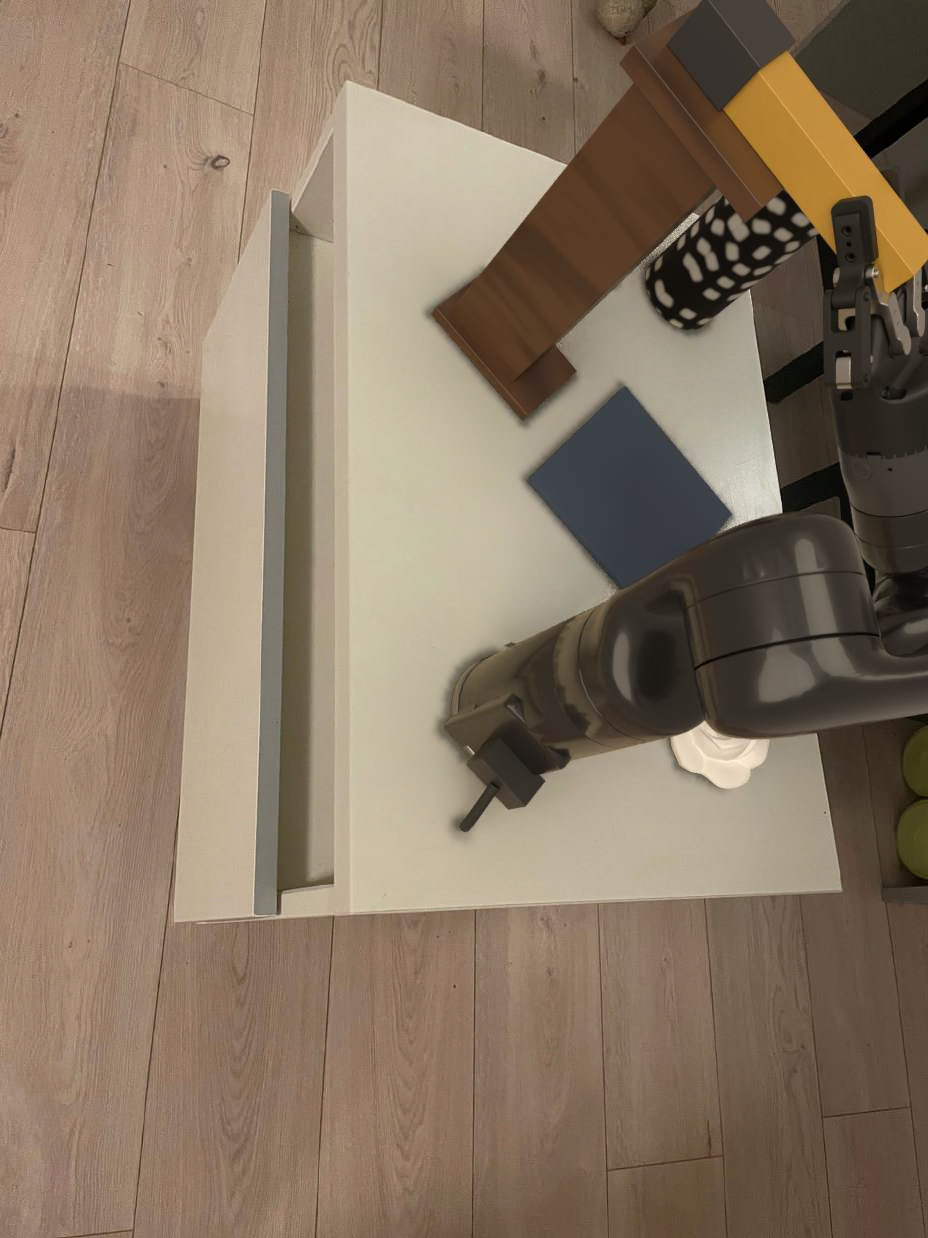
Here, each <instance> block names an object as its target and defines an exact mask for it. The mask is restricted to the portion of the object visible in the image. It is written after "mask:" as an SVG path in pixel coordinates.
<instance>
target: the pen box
mask: <svg viewBox="0 0 928 1238" xmlns="http://www.w3.org/2000/svg"><path fill="white" fill-rule="evenodd" d="M696 6H697V7H696ZM696 6H695V7H696V8H695V7H694V8H695V9H694V10H693V12H692V13H691V14H690V15H689V17H688V18H687V19H686V20H685V22H684V23H683V24H682V25H681V27H680V28H679V29H678V30H677V32H676V33H675V34H674V35H673V37H672V38H671V39H670V40H669V42H668V43H667V46H668V47H669V48H670V50H671V51H672V52H673V53H674V55H675V56H676V57H677V59H678V60H679V61H680V62H681V64H682V65H683V66H684V68H685V69H686V70H687V71H688V73H689V74H690V75H691V77H692V78H693V79H694V80H695V82H696V83H697V84H698V86H699V87H700V88H701V89H702V91H703V92H704V93H705V94H706V96H707V97H708V98H709V100H710V101H711V102H712V103H713V105H714V106H715V107H716V109H717V110H718V111H721V110H722V109H723V110H724V111H725V113H726V114H727V115H728V116H729V118H730V119H731V120H732V122H733V123H734V124H735V125H736V127H737V128H738V129H739V130H740V132H741V133H742V134H743V136H744V137H745V138H746V139H747V141H748V142H749V143H750V145H751V146H752V147H753V148H754V150H755V151H756V152H757V154H758V155H759V156H760V157H761V159H762V160H763V161H764V163H765V164H766V165H767V166H768V168H769V169H770V170H771V172H772V173H773V174H774V175H775V177H776V178H777V179H778V181H779V182H780V183H781V184H782V186H783V187H784V188H785V190H786V191H787V192H788V193H789V195H790V196H791V197H792V198H793V200H794V201H795V202H796V204H797V205H798V206H799V207H800V209H801V210H802V211H803V213H804V214H805V215H806V216H807V218H808V219H809V220H810V222H811V223H812V224H813V225H814V227H815V228H816V229H817V231H818V232H819V235H820V236H821V237H822V239H823V240H824V241H825V243H826V244H827V245H828V246H829V247H830V249H831V250H832V251H833V252H834V255H836V256H837V254H836V246H835V239H834V232H833V224H832V217H831V209H832V207H833V206H834V205H835V204H836V203H837V202H838V201H839V200H841V199H845V198H851V197H857V196H863V195H866V196H869V197H870V198H871V199H872V201H873V208H874V217H875V226H876V235H877V244H878V253H879V257H878V258H877V259H876V260H875V261H873V262H872V264H875V263H878V264H879V265H880V269H881V273H882V277H883V281H884V289H885V291H886V292H888V293H889V292H891V291H892V290H894V289H895V288H897V287H898V286H900V285H901V284H903V283H904V282H906V281H907V280H909V279H910V278H912V277H913V276H915V275H916V273H917V272H918V271H919V270H920V268H921V267H922V266H923V265H924V263H925V262H926V261H927V260H928V233H927V232H926V230H925V229H924V230H925V231H924V230H923V228H922V227H921V226H920V224H921V223H920V222H918V220H917V219H916V217H914V215H913V214H912V212H911V211H910V210H909V208H908V207H907V206H906V204H905V205H904V203H903V202H902V201H901V199H900V198H899V197H898V195H897V194H896V193H895V192H894V190H893V189H892V188H891V186H890V185H889V184H888V182H887V181H886V180H885V178H884V177H883V176H882V174H881V173H880V172H879V171H878V169H877V168H878V167H877V166H876V165H875V164H874V163H873V161H872V160H871V159H870V157H869V156H868V155H867V153H866V152H865V150H863V148H862V147H861V146H860V144H859V143H858V142H857V140H856V139H855V138H854V137H853V135H852V134H851V132H850V131H849V129H848V128H847V127H846V126H845V124H844V123H843V122H842V121H841V119H840V117H838V115H837V114H836V113H835V111H834V110H833V109H832V107H831V106H830V105H829V104H828V102H827V101H826V100H825V98H824V97H823V95H822V94H821V93H820V92H819V91H818V89H817V88H816V87H815V85H814V84H813V82H812V81H811V80H810V79H809V77H808V76H807V75H806V73H805V72H804V71H803V69H802V68H801V67H800V65H799V64H798V63H797V61H796V60H795V59H794V57H792V55H791V54H790V52H789V50H791V48H792V47H793V46H794V45H795V44H796V43H797V39H796V38H795V36H793V34H792V33H791V31H790V30H789V29H788V28H787V26H786V25H785V24H784V23H783V21H782V20H781V19H780V17H779V16H778V15H777V13H776V12H775V11H774V9H773V8H772V6H770V4H769V3H768V1H767V0H700V2H699V3H698V4H697V5H696Z"/></svg>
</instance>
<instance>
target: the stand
mask: <svg viewBox="0 0 928 1238" xmlns="http://www.w3.org/2000/svg"><path fill="white" fill-rule="evenodd" d="M697 6H698V5H696V6H695V7H693V8H691V9H690V10H688V11H686V12H685V13H683V14H682V15H679V16H678V17H677V18H675V19H673V20H671V21H670V22H668V23H666V24H665V25H663V26H661V27H659V28H658V29H656V30H655V31H653V32H652V33H650V34H648V35H646V36H645V37H643V38H641V39H640V40H638V41H636V42H634V43H633V44H632V46H631V47H630V48H629V49H628V51H627V52H626V53H625V55H624V56H623V57H622V59H621V60H620V62H619V66H620V67H621V68H622V70H623V71H624V72H625V73H626V74H627V75H628V77H629V78H630V79H631V81H632V83H631V86H630V87H629V88H628V89H627V90H626V91H625V93H624V94H623V95H622V96H621V98H620V99H619V100H618V101H617V103H616V104H615V105H614V107H613V108H612V109H611V110H610V111H609V113H608V114H607V115H606V117H605V118H604V119H603V120H602V122H601V123H600V124H599V125H598V126H597V128H596V129H595V130H594V131H593V133H592V134H591V135H590V136H589V137H588V139H587V140H586V141H585V143H584V144H583V145H582V147H581V148H579V150H578V151H577V153H576V154H575V155H574V156H573V158H572V159H571V160H570V161H569V162H568V164H567V165H566V166H565V168H563V170H562V171H561V173H560V174H559V175H558V176H557V178H556V179H555V180H554V181H553V183H552V184H551V185H550V186H549V187H548V189H547V190H546V191H545V193H544V194H543V195H542V197H541V198H540V199H539V200H538V201H537V203H535V205H534V207H533V208H532V209H531V210H530V211H529V213H528V214H527V215H526V217H525V218H524V219H523V220H522V222H521V223H520V224H519V225H518V226H517V228H516V229H515V230H514V232H513V233H512V234H511V235H510V236H509V237H508V239H507V240H506V242H505V243H504V244H503V245H502V247H501V248H500V249H499V250H498V251H497V253H495V255H494V257H493V258H492V259H491V260H490V262H488V264H487V265H486V267H484V269H483V270H482V272H480V274H479V275H478V276H476V277H475V278H474V279H472V280H471V281H470V282H469V283H467V284H466V285H464V286H463V287H461V288H460V289H459V290H457V291H456V292H454V293H453V294H452V295H451V296H449V297H448V298H447V299H445V300H444V301H442V302H441V303H440V304H438V305H437V306H435V307H434V308H433V310H432V312H431V313H430V314H431V316H432V317H433V318H434V319H435V320H436V322H437V323H438V324H439V325H440V326H441V327H442V329H443V330H444V331H445V332H446V333H447V334H448V335H449V337H450V338H451V339H452V340H453V341H454V342H455V344H456V345H457V346H458V347H459V348H460V350H461V351H462V352H463V353H464V354H465V355H466V357H467V358H468V359H469V360H470V362H471V363H472V364H473V365H474V366H475V367H476V368H477V370H478V371H479V372H480V373H481V375H483V377H484V378H485V379H486V380H487V381H488V382H489V384H490V385H491V386H492V387H493V388H494V389H495V390H496V392H497V393H498V394H499V395H500V397H501V398H502V399H503V400H504V401H505V402H506V404H507V405H508V406H509V407H510V408H511V409H512V411H514V413H515V414H516V415H517V416H518V417H519V419H520V420H521V421H524V420H525V419H526V418H527V417H528V416H530V415H531V414H532V413H533V412H534V411H535V410H536V409H537V408H539V406H541V405H542V404H543V403H544V402H545V401H546V400H547V399H548V398H550V397H551V396H552V395H553V394H554V393H555V392H556V391H557V390H558V389H559V388H561V387H562V386H563V385H564V384H565V383H566V382H567V381H568V380H569V379H571V378H572V377H573V376H574V375H576V373H577V372H578V369H576V367H574V365H573V364H572V363H571V362H570V361H569V359H568V358H567V357H566V356H565V355H564V353H563V352H562V351H561V349H559V348H558V346H557V345H558V344H559V343H560V342H561V341H562V340H563V339H564V338H565V337H566V336H567V335H568V334H569V333H570V332H571V331H572V330H574V328H575V327H577V325H579V323H580V322H582V321H583V320H584V319H585V318H586V317H587V315H589V314H590V313H591V312H592V311H593V310H594V309H595V308H596V307H597V306H598V305H599V304H600V303H601V302H602V301H603V300H604V299H605V298H606V297H607V296H608V295H609V294H610V293H611V292H613V291H614V290H615V289H616V288H617V287H618V286H619V285H620V284H621V283H622V282H623V281H625V279H626V278H627V277H629V275H630V274H631V273H632V272H633V271H634V270H636V268H637V267H639V265H641V264H642V262H643V261H645V260H646V259H647V258H648V257H649V256H650V255H651V254H652V253H653V252H654V251H655V250H656V249H657V248H658V247H659V246H660V245H661V244H663V242H664V241H665V240H666V239H667V238H668V237H670V235H671V234H673V233H674V232H675V231H676V230H677V228H679V227H680V226H681V225H682V224H683V223H684V222H685V221H686V220H687V219H688V218H690V216H691V215H692V214H693V213H694V212H695V211H696V210H697V209H698V208H700V206H702V205H703V204H704V203H705V202H706V201H707V200H708V199H709V198H710V197H711V196H712V195H713V194H714V193H715V192H716V191H717V190H718V191H719V192H720V193H721V196H722V195H723V196H724V197H725V198H726V200H727V201H728V202H729V203H730V205H731V206H732V207H733V209H734V210H735V211H736V212H737V214H738V215H739V216H740V217H741V219H742V220H743V221H744V222H745V223H746V222H747V221H748V220H750V219H751V218H752V217H753V216H754V215H755V214H756V213H757V212H759V211H760V210H761V209H762V208H763V207H764V206H765V205H766V204H768V203H769V202H770V201H771V200H772V199H773V198H774V197H775V196H776V195H777V194H779V193H780V192H781V191H782V190H783V189H784V187H783V186H782V184H781V183H780V182H779V181H778V179H777V178H776V177H775V175H774V174H773V173H772V172H771V170H770V169H769V168H768V166H767V165H766V164H765V163H764V161H763V160H762V159H761V157H760V156H759V155H758V154H757V152H756V151H755V150H754V148H753V147H752V146H751V145H750V143H749V142H748V141H747V139H746V138H745V137H744V136H743V134H742V133H741V132H740V130H739V129H738V128H737V127H736V125H735V124H734V123H733V122H732V120H731V119H730V118H729V116H728V115H727V114H726V113H725V111H724V110H723V109H722V110H721V111H718V110H717V109H716V107H715V106H714V105H713V103H712V102H711V101H710V100H709V98H708V97H707V96H706V94H705V93H704V92H703V91H702V89H701V88H700V87H699V86H698V84H697V83H696V82H695V80H694V79H693V78H692V77H691V75H690V74H689V73H688V71H687V70H686V69H685V68H684V66H683V65H682V64H681V62H680V61H679V60H678V59H677V57H676V56H675V55H674V53H673V52H672V51H671V50H670V48H669V47H668V46H667V43H668V42H669V40H670V39H671V38H672V37H673V35H674V34H675V33H676V32H677V30H678V29H679V28H680V27H681V25H682V24H683V23H684V22H685V20H686V19H687V18H688V17H689V15H690V14H691V13H692V12H693V10H694V9H695V8H696V7H697Z"/></svg>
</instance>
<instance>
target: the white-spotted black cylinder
mask: <svg viewBox="0 0 928 1238" xmlns="http://www.w3.org/2000/svg"><path fill="white" fill-rule="evenodd" d="M818 235H820V233H819V232H818V231H817V229H816V228H815V227H814V225H813V224H812V223H811V222H810V220H809V219H808V218H807V216H806V215H805V214H804V213H803V211H802V210H801V209H800V207H799V206H798V205H797V204H796V202H795V201H794V200H793V198H792V197H791V196H790V195H789V193H788V192H787V191H786V190H785V188H784V189H783V190H782V191H781V192H780V193H779V194H777V195H776V196H775V197H774V198H773V199H772V200H771V201H770V202H769V203H768V204H766V205H765V206H764V207H763V208H762V209H761V210H760V211H759V212H757V213H756V214H755V215H754V216H753V217H752V218H751V219H750V220H748V221H747V222H746V223H745V222H744V221H743V220H742V219H741V217H740V216H739V215H738V214H737V212H736V211H735V210H734V209H733V207H732V206H731V205H730V203H729V202H728V201H727V200H726V198H725V197H724V196H723V195H722V194H721V196H719V198H718V199H717V200H716V201H714V202H713V203H712V204H711V205H710V206H709V207H708V208H707V209H706V210H705V211H704V212H703V213H702V214H701V215H700V216H699V217H698V218H696V220H694V222H692V224H690V225H689V226H688V227H687V228H686V229H685V230H684V231H683V232H681V234H680V235H679V236H678V237H677V238H675V240H673V241H672V242H671V243H670V244H669V245H668V246H667V247H666V248H665V249H664V250H663V251H662V252H661V253H659V255H658V256H657V257H655V258H654V259H653V260H652V261H651V262H650V263H649V265H648V267H647V268H646V271H645V287H646V291H647V295H648V298H649V299H650V301H651V303H652V305H653V306H654V308H655V309H656V312H658V313H659V315H661V317H662V318H664V319H665V321H667V322H668V323H670V324H672V326H675V327H676V328H679V329H681V330H685V331H696V330H699V329H701V328H702V327H704V326H705V325H706V324H708V323H709V322H710V321H711V320H713V319H714V318H715V317H717V316H718V315H719V314H720V313H721V312H722V311H724V310H725V309H727V308H728V307H729V306H730V305H731V304H733V303H734V302H735V301H737V300H738V299H739V298H740V297H742V296H743V295H745V293H747V292H748V291H749V290H750V289H752V288H753V287H754V286H756V285H757V284H758V283H759V282H760V281H762V280H763V279H764V278H765V277H766V276H768V275H769V274H770V273H771V272H773V271H774V270H776V269H777V268H778V267H779V266H780V265H782V264H783V263H784V262H785V261H786V260H788V259H789V258H790V257H792V256H793V255H794V254H796V252H798V251H799V250H801V249H802V248H803V247H804V246H805V245H807V244H808V243H809V242H811V241H812V240H813V239H815V238H816V237H817V236H818Z"/></svg>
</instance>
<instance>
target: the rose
mask: <svg viewBox="0 0 928 1238" xmlns="http://www.w3.org/2000/svg"><path fill="white" fill-rule="evenodd" d="M669 738H670V745H671V749H672V752H673V754H674V756H675V758H676V760H677V761H676V762H677V763H678V765H679V766H680V767H681V768H682V769H684V770H687V771H689V772H690V773H692V774H699V775H702V776H704V777H705V778H706V779H708V780H709V781H710V782H711V783H712V784H713V785H715V786H716V787H717V788H720V789H725V790H733V789H736V788H739V787H742V786H744V785H745V784H746V783H747V782H749V780H750V778H751V774H752V769H755V768H757V767H760V766H761V765H763V763H764V762H765V761H766V759H767V756H768V753H769V747H770V742H771V739H758V740H750V739H736V738H731V737H727V736H724V735H721V734H719V733H717V732H715V731H714V730H712V729H711V728H710V727H709V726H708V724H707V723H706V721H704V722H702V723H701V724H700V725H699V726H697V727H696V728H694V729H692V730H691V731H688V732H686V733H683V734H681V735H677V736H673V737H669Z"/></svg>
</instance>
